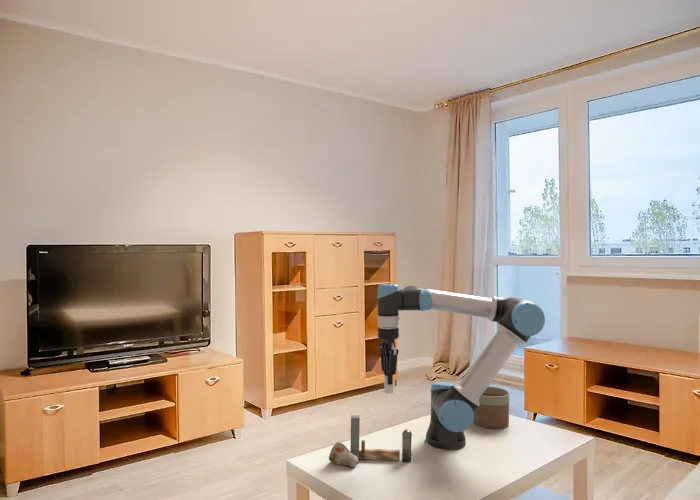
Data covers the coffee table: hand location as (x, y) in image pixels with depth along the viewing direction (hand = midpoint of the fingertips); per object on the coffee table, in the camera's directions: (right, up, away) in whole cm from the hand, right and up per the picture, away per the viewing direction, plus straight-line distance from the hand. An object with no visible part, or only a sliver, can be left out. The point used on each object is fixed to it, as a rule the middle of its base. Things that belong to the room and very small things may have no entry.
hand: (388, 392), depth 186 cm
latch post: (-11, -23, -2) cm, 25 cm away
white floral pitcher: (-16, -23, -7) cm, 29 cm away
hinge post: (+6, -23, -3) cm, 24 cm away
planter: (+46, -23, +37) cm, 63 cm away
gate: (-3, -22, -3) cm, 23 cm away
